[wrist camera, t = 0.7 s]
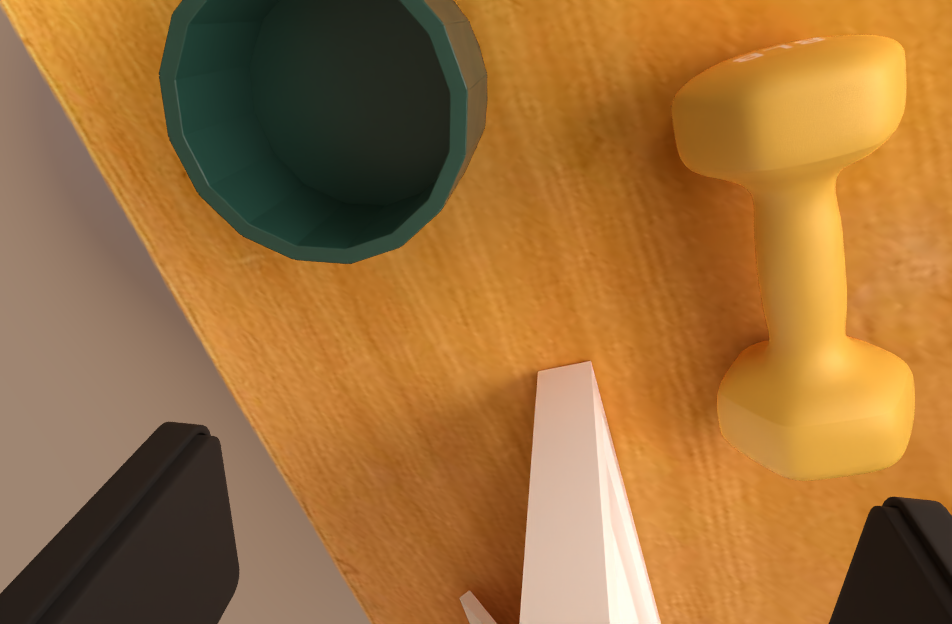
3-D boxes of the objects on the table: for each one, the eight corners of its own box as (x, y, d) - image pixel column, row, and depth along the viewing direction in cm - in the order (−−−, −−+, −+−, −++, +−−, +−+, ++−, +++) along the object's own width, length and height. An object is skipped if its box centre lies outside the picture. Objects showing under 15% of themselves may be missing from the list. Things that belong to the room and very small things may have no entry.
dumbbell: (654, 67, 31) (680, 87, 24) (865, 14, 30) (963, 17, 22) (705, 410, 39) (738, 506, 31) (877, 385, 37) (956, 481, 29)
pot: (228, -53, 32) (136, -69, 25) (493, -45, 30) (471, -59, 24) (255, 206, 37) (185, 252, 30) (482, 222, 36) (462, 273, 29)
